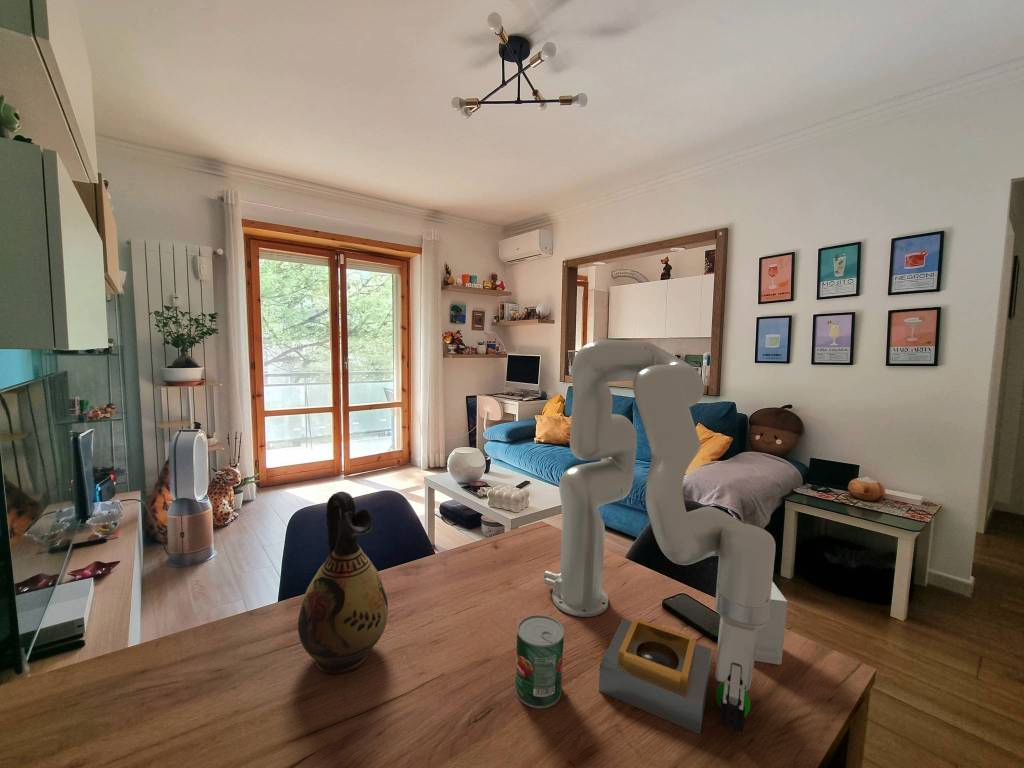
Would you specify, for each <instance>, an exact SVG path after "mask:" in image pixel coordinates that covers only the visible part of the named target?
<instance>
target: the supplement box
mask: <svg viewBox="0 0 1024 768" xmlns="http://www.w3.org/2000/svg"><path fill="white" fill-rule="evenodd" d="M787 611H788V600H787V599H786V597H785V596H784V595H783V594H782V592H781V590H779V588H778V587H777V585H776V584H775V582H774V581H772V589H771V600H770V609H769V620H768V624H767V625H766V626H765V627H763V628H758V638H757V647H756V655H755V662H760V663H766V664H774V665H782V663H783V661H782V660H783V652H784V642H785V641H784V640H785V630H786V620H787Z"/></svg>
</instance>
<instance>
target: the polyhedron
mask: <svg viewBox="0 0 1024 768" xmlns="http://www.w3.org/2000/svg"><path fill="white" fill-rule="evenodd" d="M724 685H725V682H723V683H722V682H720V683H719V685H718V686H717V688H716V692H715V695H716V696H715V697H716V702H717V704H718V706H719V708H720V709H721V698H723V695H724ZM740 692H741V689H739V698H740ZM729 693H730V685H728V693H727V694H729ZM743 706H745V713H744V718H746V717H747V715H749V713H750V711H751V699H750V696H749V694H748V691H745V692H744V705H743Z"/></svg>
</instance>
